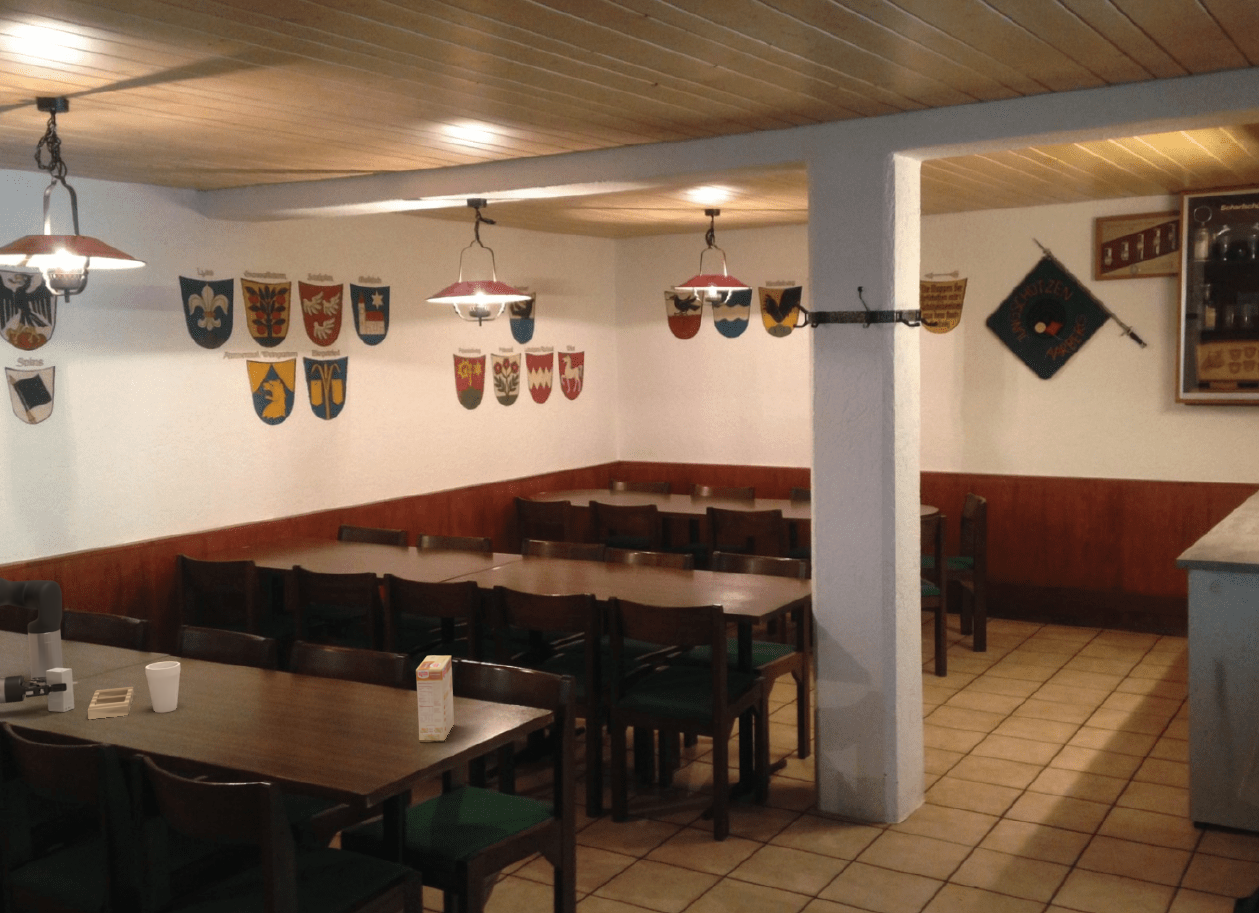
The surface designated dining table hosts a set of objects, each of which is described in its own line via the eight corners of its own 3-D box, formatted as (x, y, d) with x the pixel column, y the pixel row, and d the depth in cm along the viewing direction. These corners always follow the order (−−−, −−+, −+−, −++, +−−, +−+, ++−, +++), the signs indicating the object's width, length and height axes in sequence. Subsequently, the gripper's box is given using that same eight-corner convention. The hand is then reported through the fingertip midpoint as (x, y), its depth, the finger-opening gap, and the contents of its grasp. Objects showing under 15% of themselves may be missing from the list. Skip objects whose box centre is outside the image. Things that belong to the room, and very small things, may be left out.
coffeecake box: (429, 725, 327) (426, 655, 326) (455, 725, 327) (452, 654, 325) (417, 743, 312) (414, 669, 311) (445, 742, 312) (442, 668, 310)
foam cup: (189, 706, 352) (187, 663, 351) (165, 715, 343) (162, 670, 342) (165, 703, 356) (162, 660, 355) (140, 712, 347) (138, 667, 346)
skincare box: (75, 708, 353) (72, 668, 352) (63, 712, 349) (61, 672, 348) (58, 707, 355) (56, 667, 354) (47, 711, 351) (44, 670, 350)
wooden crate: (96, 700, 361) (95, 690, 361) (133, 696, 364) (133, 686, 364) (88, 720, 340) (87, 709, 340) (128, 716, 344) (127, 705, 343)
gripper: (-1, 683, 340) (64, 677, 345) (8, 671, 353) (70, 665, 358) (1, 709, 340) (66, 702, 345) (10, 696, 354) (72, 690, 359)
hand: (68, 683), depth 352 cm, fingers closed on skincare box, 7 cm apart
